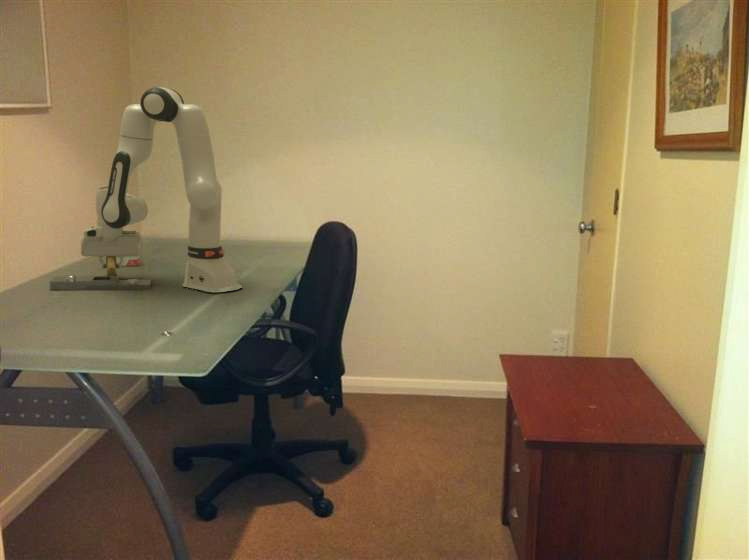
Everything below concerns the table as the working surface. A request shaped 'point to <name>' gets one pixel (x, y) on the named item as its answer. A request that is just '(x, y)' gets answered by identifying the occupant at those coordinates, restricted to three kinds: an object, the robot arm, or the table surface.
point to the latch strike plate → (96, 283)
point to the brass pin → (111, 265)
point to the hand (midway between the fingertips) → (111, 268)
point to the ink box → (129, 260)
